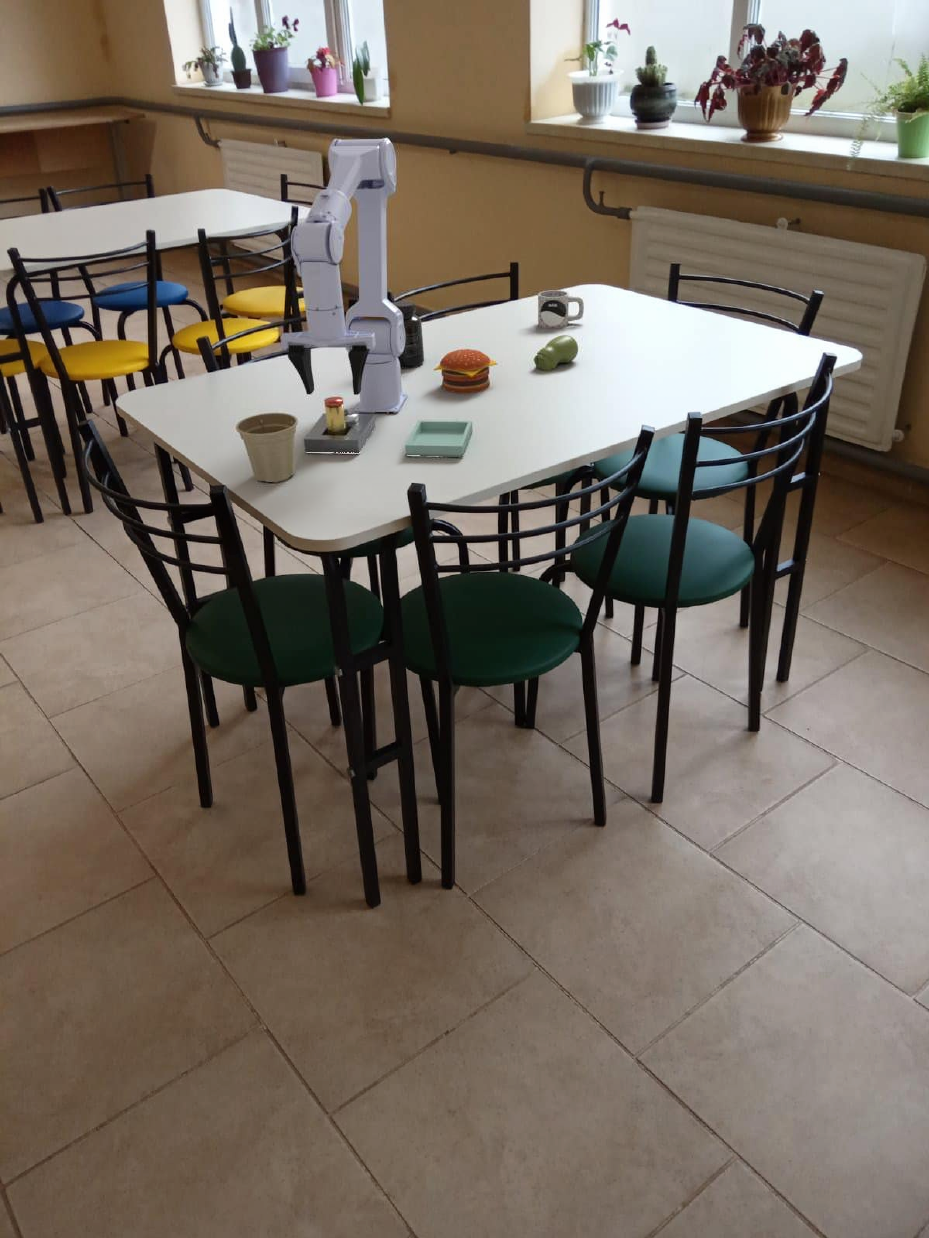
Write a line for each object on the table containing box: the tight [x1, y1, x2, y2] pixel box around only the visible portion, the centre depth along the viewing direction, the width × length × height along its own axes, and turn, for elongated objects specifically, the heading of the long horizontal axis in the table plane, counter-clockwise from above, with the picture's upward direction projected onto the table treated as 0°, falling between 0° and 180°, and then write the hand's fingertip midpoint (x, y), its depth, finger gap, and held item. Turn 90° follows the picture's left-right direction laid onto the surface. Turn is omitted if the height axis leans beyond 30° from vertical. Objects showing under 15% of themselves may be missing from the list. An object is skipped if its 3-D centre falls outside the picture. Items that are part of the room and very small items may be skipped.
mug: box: [537, 289, 585, 329], centre depth 226 cm, size 10×7×7 cm, turn 88°
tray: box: [405, 419, 473, 458], centre depth 169 cm, size 11×9×2 cm
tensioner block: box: [303, 408, 376, 453], centre depth 172 cm, size 12×9×4 cm
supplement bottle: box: [391, 300, 425, 369], centre depth 205 cm, size 7×7×12 cm
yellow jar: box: [324, 396, 347, 436], centre depth 169 cm, size 3×3×8 cm
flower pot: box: [235, 412, 299, 483], centre depth 159 cm, size 9×9×9 cm
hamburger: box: [433, 348, 498, 394], centre depth 193 cm, size 9×10×7 cm
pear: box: [533, 334, 579, 371], centre depth 202 cm, size 6×5×10 cm
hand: (334, 392), depth 163 cm, fingers open, 7 cm apart
